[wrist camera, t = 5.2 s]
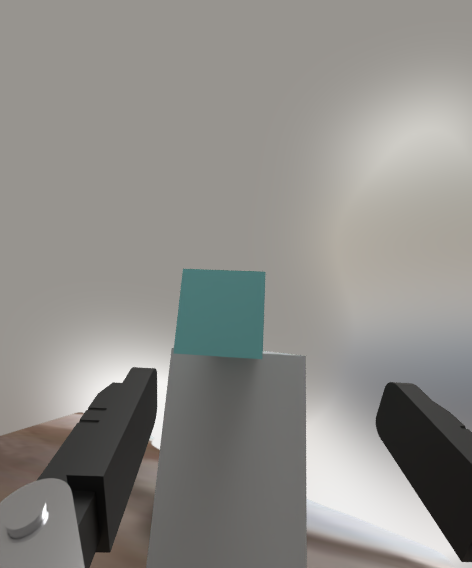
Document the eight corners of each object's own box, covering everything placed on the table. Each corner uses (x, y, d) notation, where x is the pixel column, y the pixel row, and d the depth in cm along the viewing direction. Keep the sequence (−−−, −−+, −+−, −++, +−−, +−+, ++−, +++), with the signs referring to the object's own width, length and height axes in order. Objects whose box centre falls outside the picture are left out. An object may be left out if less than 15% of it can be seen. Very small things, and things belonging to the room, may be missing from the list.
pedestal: (331, 940, 14) (320, 357, 22) (79, 955, 14) (157, 347, 21) (269, 614, 32) (275, 351, 40) (156, 613, 31) (185, 346, 39)
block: (262, 359, 11) (265, 271, 12) (173, 353, 11) (183, 268, 12) (257, 350, 38) (258, 324, 39) (231, 349, 39) (232, 322, 39)
